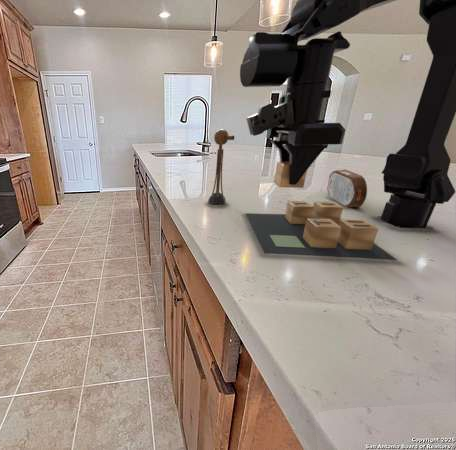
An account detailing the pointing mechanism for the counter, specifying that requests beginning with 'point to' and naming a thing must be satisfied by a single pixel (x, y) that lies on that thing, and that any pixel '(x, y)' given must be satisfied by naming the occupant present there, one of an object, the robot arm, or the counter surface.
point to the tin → (347, 188)
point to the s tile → (286, 176)
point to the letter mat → (300, 239)
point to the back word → (312, 211)
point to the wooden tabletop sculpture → (219, 167)
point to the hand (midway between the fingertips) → (288, 181)
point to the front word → (340, 233)
